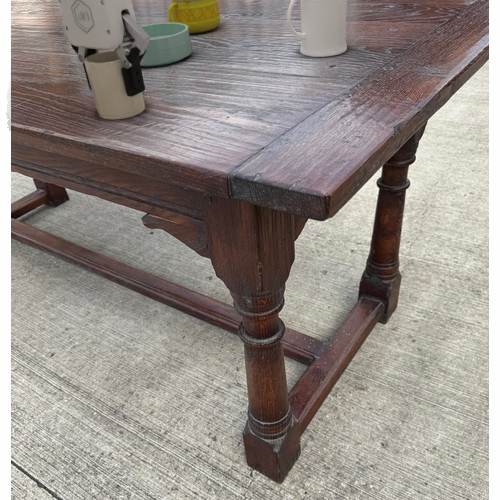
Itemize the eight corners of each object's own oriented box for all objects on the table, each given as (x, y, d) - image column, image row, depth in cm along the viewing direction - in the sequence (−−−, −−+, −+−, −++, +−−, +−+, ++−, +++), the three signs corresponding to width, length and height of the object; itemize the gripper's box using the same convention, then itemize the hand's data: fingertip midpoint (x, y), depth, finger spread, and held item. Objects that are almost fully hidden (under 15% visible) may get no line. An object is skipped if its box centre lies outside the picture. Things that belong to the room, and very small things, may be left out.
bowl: (161, 71, 92) (156, 42, 89) (110, 64, 98) (103, 37, 95) (205, 51, 100) (202, 24, 97) (156, 46, 106) (151, 21, 104)
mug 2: (298, 64, 88) (296, -13, 81) (276, 53, 95) (272, -19, 88) (356, 50, 92) (358, -24, 85) (330, 41, 98) (331, -29, 91)
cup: (122, 122, 73) (108, 65, 68) (89, 115, 76) (73, 61, 71) (154, 105, 77) (144, 51, 73) (122, 100, 81) (109, 47, 76)
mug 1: (201, 22, 122) (193, -35, 115) (231, 27, 115) (225, -33, 108) (157, 34, 116) (146, -25, 108) (186, 40, 109) (176, -23, 102)
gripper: (17, -43, 66) (59, 92, 77) (110, -45, 58) (143, 106, 68) (62, -51, 71) (96, 76, 81) (154, -54, 63) (178, 88, 73)
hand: (117, 89), depth 75 cm, fingers closed on cup, 7 cm apart
